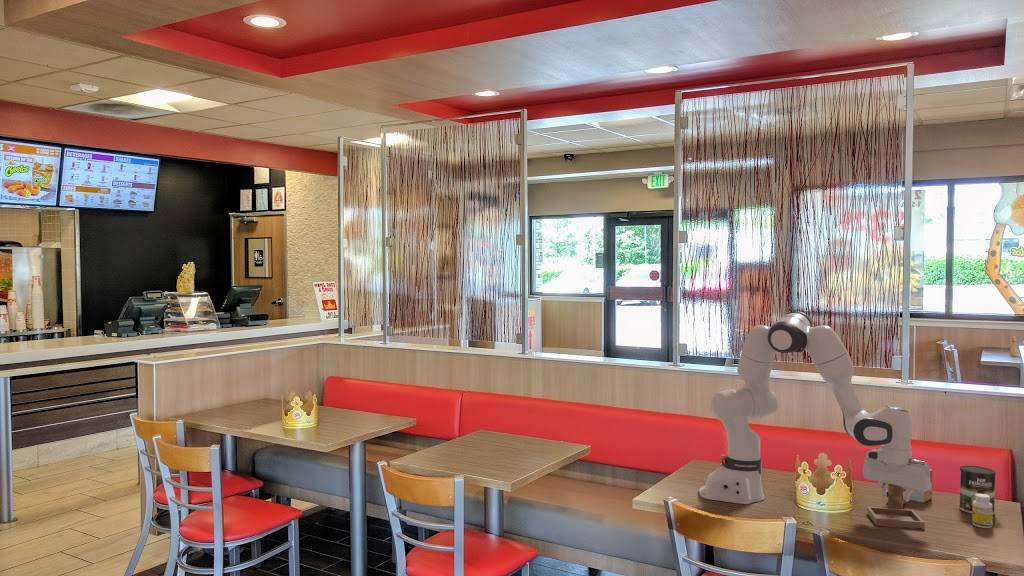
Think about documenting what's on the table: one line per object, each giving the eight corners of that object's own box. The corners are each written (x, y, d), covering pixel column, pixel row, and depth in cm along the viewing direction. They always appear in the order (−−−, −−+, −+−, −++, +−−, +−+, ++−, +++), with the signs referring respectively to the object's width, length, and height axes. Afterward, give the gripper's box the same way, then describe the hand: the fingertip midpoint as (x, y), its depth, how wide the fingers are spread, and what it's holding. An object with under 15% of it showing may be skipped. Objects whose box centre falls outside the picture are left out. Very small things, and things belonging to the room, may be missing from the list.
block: (887, 506, 235) (888, 484, 235) (889, 503, 238) (889, 481, 238) (901, 508, 233) (902, 486, 233) (903, 505, 236) (903, 483, 236)
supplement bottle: (973, 521, 236) (973, 491, 236) (993, 525, 233) (993, 494, 232) (970, 526, 232) (971, 495, 232) (991, 530, 228) (991, 499, 228)
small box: (924, 503, 254) (924, 473, 254) (906, 499, 258) (907, 470, 258) (932, 498, 260) (933, 469, 259) (915, 494, 264) (916, 466, 264)
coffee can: (998, 517, 240) (999, 474, 240) (962, 513, 244) (963, 471, 243) (990, 507, 250) (991, 466, 249) (955, 504, 253) (956, 464, 253)
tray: (876, 525, 232) (876, 518, 232) (867, 513, 244) (867, 506, 244) (924, 529, 229) (924, 522, 229) (912, 516, 240) (913, 510, 240)
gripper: (934, 461, 229) (934, 504, 229) (869, 448, 245) (869, 489, 246) (925, 464, 225) (925, 508, 226) (860, 451, 241) (860, 492, 242)
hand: (895, 498), depth 236 cm, fingers closed on block, 5 cm apart
